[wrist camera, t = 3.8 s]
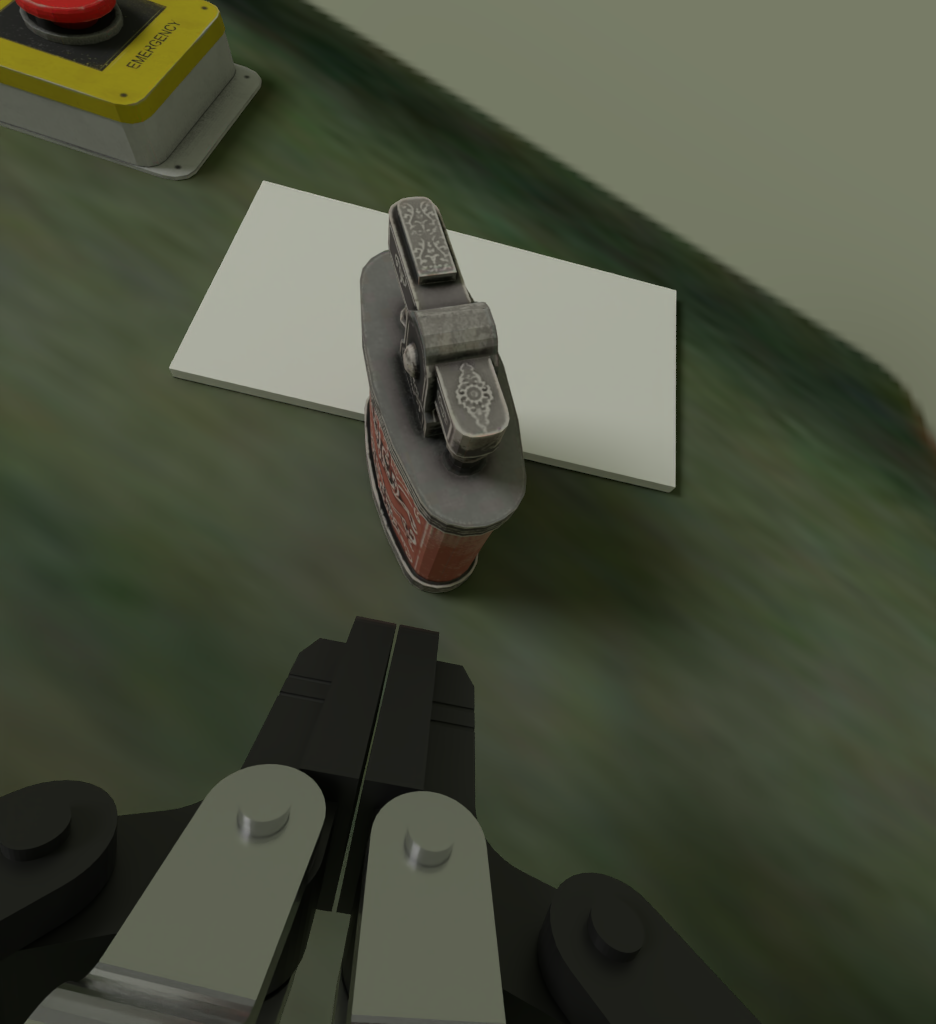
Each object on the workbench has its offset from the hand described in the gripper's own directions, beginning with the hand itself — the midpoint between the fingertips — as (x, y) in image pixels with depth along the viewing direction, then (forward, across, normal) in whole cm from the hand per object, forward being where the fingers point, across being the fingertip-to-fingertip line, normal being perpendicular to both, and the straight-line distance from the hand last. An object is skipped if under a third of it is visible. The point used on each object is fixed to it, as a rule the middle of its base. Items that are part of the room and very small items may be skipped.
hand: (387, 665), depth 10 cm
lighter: (+11, 0, 0) cm, 11 cm away
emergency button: (+24, +21, -12) cm, 34 cm away
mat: (+17, 0, -5) cm, 18 cm away
